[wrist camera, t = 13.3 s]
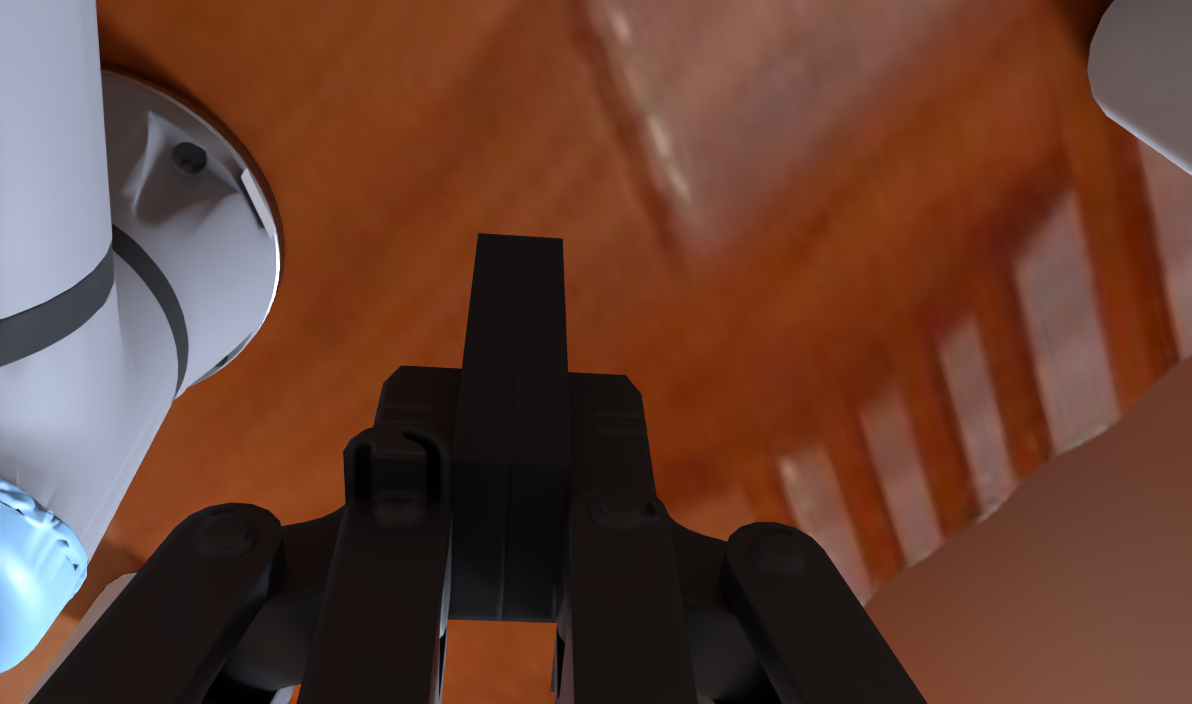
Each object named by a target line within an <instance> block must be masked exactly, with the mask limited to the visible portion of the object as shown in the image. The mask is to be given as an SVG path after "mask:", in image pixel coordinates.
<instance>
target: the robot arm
mask: <svg viewBox="0 0 1192 704" xmlns="http://www.w3.org/2000/svg"><path fill="white" fill-rule="evenodd" d="M284 256H285V255H284V235H283V227H282V222H281V218H280V214H279V210H278V207H277V204H276V201H275V198H274V195H273V193H272V191H271V189H270V186H269V184H268V182H267V180H266V178H265V176H264V174H263V173H262V171H261V169H260V168H259V166H258V164H257V163H256V161H255V160H254V158H253V157H252V156H251V154H250V153H249V151H248V150H247V149H246V147H245V146H244V145H243V144H242V143H241V141H240V140H239V139H238V138H237V137H236V135H235V134H234V133H233V132H232V131H231V130H230V129H229V128H228V127H227V126H226V125H225V124H224V123H223V122H222V121H220V120H219V119H218V118H217V117H216V116H215V115H213V114H212V113H211V112H210V111H209V110H208V109H206V108H205V107H203V106H202V105H201V104H199V103H198V102H197V101H195V100H194V99H192V98H191V97H189V96H188V95H186V94H184V93H183V92H181V91H179V90H178V89H176V88H174V87H172V86H170V85H168V84H166V83H164V82H162V81H160V80H158V79H156V78H154V77H151V76H149V75H146V74H144V73H141V72H139V71H136V70H133V69H129V68H126V67H123V66H120V65H115V64H111V63H106V62H101V61H100V56H99V41H98V27H97V13H96V0H0V673H2V672H4V671H6V670H9V669H11V668H12V667H14V666H15V665H17V664H18V663H19V662H20V661H22V660H23V659H24V658H25V657H26V656H27V655H28V654H29V653H30V652H31V651H32V650H33V649H34V648H35V647H36V645H37V644H38V643H39V642H40V640H41V639H42V637H43V636H44V634H45V633H46V631H47V630H48V628H49V627H50V625H51V624H52V623H53V621H54V620H55V619H56V617H57V616H58V615H59V613H60V612H61V610H62V609H63V608H64V606H65V605H66V604H67V602H68V601H69V600H70V599H71V598H73V596H74V594H75V593H77V592H78V590H79V589H80V587H81V585H82V584H83V582H84V580H85V578H86V577H87V565H88V564H89V562H90V560H91V558H92V556H93V554H94V552H95V550H96V548H97V546H98V544H99V542H100V541H101V539H102V537H103V535H104V533H105V531H106V529H107V527H108V525H109V523H110V521H111V519H112V518H113V516H114V514H115V512H116V510H117V508H118V506H119V504H120V502H121V500H122V498H123V496H124V494H125V493H126V491H127V489H128V487H129V485H130V483H131V481H132V479H133V477H134V475H135V473H136V471H137V470H138V468H139V466H140V464H141V462H142V460H143V458H144V456H145V454H146V452H147V450H148V448H149V447H150V445H151V443H152V441H153V439H154V437H155V435H156V433H157V431H158V429H159V427H160V425H161V424H162V422H163V420H164V418H165V416H166V414H167V412H168V410H169V408H170V406H171V404H172V402H173V400H175V399H176V398H177V397H179V396H180V395H181V394H182V393H183V392H184V391H185V389H186V388H187V387H189V386H192V385H194V384H196V383H198V382H200V381H202V380H204V379H206V378H208V377H209V376H211V375H213V374H214V373H216V372H217V371H219V370H220V369H222V368H223V367H224V366H226V365H227V364H228V363H229V362H231V361H232V360H233V359H234V358H235V357H236V356H237V355H238V354H239V353H240V352H241V351H242V350H243V349H244V348H245V346H246V345H247V344H248V343H249V342H250V340H251V339H252V338H253V337H254V335H255V334H256V333H257V331H258V330H259V328H260V327H261V325H262V324H263V322H264V320H265V318H266V316H267V314H268V312H269V310H270V308H271V306H272V303H273V301H274V299H275V297H276V294H277V291H278V288H279V285H280V282H281V277H282V273H283V266H284ZM343 456H344V478H345V500H346V504H345V505H344V506H342V507H341V508H340V509H338V510H337V511H335V512H333V513H331V514H329V515H326V516H324V517H322V518H318V519H315V520H311V521H307V522H302V523H297V524H292V525H286V526H281V524H280V521H279V520H278V519H277V518H276V517H275V516H274V515H273V514H272V513H271V512H270V511H269V510H266V509H264V508H261V507H258V506H256V505H253V504H244V503H226V504H220V505H215V506H209V507H207V508H205V509H202V510H200V511H198V512H196V513H193V514H191V515H189V516H188V517H187V518H186V519H185V520H183V521H182V522H181V523H180V524H179V525H177V526H176V527H175V528H174V529H173V531H172V532H171V533H170V534H169V535H168V536H167V538H166V539H165V540H164V541H163V542H162V544H161V545H160V546H159V547H158V548H157V550H156V551H155V552H154V553H153V554H152V556H151V557H150V558H149V559H148V560H147V562H146V563H145V564H144V565H143V566H142V568H141V569H140V570H139V571H138V572H137V574H136V575H135V576H134V577H133V578H132V580H131V581H130V582H129V583H128V584H127V586H126V587H125V588H124V589H123V590H122V592H121V593H120V594H119V595H118V596H117V598H116V599H115V600H114V601H113V602H112V604H111V605H110V606H109V607H108V608H107V610H106V611H105V612H104V613H103V614H102V616H101V617H100V618H99V619H98V620H97V622H96V623H95V624H94V625H93V626H92V628H91V629H90V630H89V631H88V632H87V634H86V635H85V636H84V637H83V638H82V640H81V641H80V642H79V643H78V644H77V646H76V647H75V648H74V649H73V650H72V652H71V653H70V654H69V655H68V656H67V657H66V659H65V660H64V661H63V662H62V663H61V665H60V666H59V667H58V668H57V669H56V671H55V672H54V673H53V674H52V675H51V677H50V678H49V679H48V680H47V681H46V683H45V684H44V685H43V686H42V687H41V689H40V690H39V691H38V692H37V693H36V695H35V696H34V697H33V698H32V699H31V701H30V702H29V703H28V704H288V702H289V700H290V698H291V696H292V693H293V689H294V686H295V685H298V684H301V688H300V692H299V696H298V700H297V704H441V700H442V689H443V679H444V669H445V659H446V644H447V619H454V620H485V621H517V622H548V623H556V618H557V630H556V640H555V650H554V660H553V670H552V679H551V689H550V692H555V704H698V703H699V704H927V702H926V701H925V699H924V698H923V696H922V695H921V693H920V692H919V690H918V689H917V687H916V686H915V684H914V683H913V681H912V680H911V678H910V677H909V675H908V674H907V672H906V671H905V669H904V668H903V667H902V665H901V664H900V662H899V661H898V659H897V658H896V656H895V655H894V653H893V652H892V650H891V649H890V647H889V646H888V644H887V643H886V641H885V640H884V638H883V637H882V635H881V634H880V632H879V631H878V629H877V628H876V626H875V625H874V623H873V622H872V620H871V619H870V617H869V616H868V614H867V613H866V611H865V610H864V608H863V607H862V605H861V604H860V602H859V601H858V599H857V598H856V596H855V595H854V594H853V592H852V591H851V589H850V588H849V586H848V585H847V583H846V582H845V580H844V579H843V577H842V576H841V574H840V573H839V571H838V570H837V568H836V567H835V565H834V564H833V562H832V561H831V559H830V558H829V556H828V555H827V553H826V552H825V550H824V549H823V548H822V547H821V546H820V545H819V544H818V543H817V542H816V541H815V540H814V539H813V538H812V537H810V536H809V535H807V534H805V533H803V532H802V531H800V530H798V529H796V528H794V527H790V526H787V525H783V524H779V523H776V522H755V523H752V524H749V525H745V526H742V527H740V528H739V529H737V530H736V531H735V532H734V533H733V534H732V535H730V536H729V540H728V542H726V541H723V540H719V539H716V538H712V537H708V536H705V535H702V534H699V533H696V532H694V531H691V530H688V529H687V528H685V527H683V526H681V525H680V524H678V523H676V522H675V521H674V520H673V519H672V518H671V517H669V515H668V513H667V510H666V508H665V506H664V504H663V502H661V501H660V500H659V499H658V498H657V495H656V490H655V483H654V476H653V470H652V463H651V456H650V449H649V443H648V436H647V429H646V422H645V419H644V409H643V402H642V395H641V393H640V392H639V391H638V390H637V388H636V387H635V386H634V385H633V384H632V382H631V381H630V380H629V379H628V377H627V376H626V375H611V374H592V373H573V372H568V360H567V336H566V311H565V286H564V262H563V239H560V238H545V237H529V236H514V235H498V234H483V233H478V240H477V248H476V257H475V265H474V273H473V281H472V290H471V298H470V306H469V314H468V322H467V331H466V339H465V347H464V355H463V363H462V369H457V368H438V367H419V366H400V367H399V368H398V369H397V370H396V371H395V372H394V373H393V374H392V375H391V376H390V377H389V378H388V379H387V380H386V381H385V382H384V383H383V387H382V391H381V396H380V400H379V405H378V408H377V412H376V417H375V423H374V425H373V427H372V428H369V429H366V430H364V431H362V432H361V433H359V434H358V435H356V436H355V437H354V438H352V439H351V440H350V441H349V443H348V445H347V446H346V448H345V450H344V451H343Z"/></svg>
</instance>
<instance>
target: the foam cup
mask: <svg viewBox="0 0 1192 704" xmlns="http://www.w3.org/2000/svg"><path fill="white" fill-rule="evenodd" d="M136 574H137V573H130V574H124V575H122V576H121V577H119V578H118V579H116V580H114V581H113V582H111V583H110V584H108V585H107V586H106V587H105V589H104V591H103V592H102V593H100V595H99V596H98V597H97V599H96V600H95V601H94V603H93V604H92V606H91V607H90V608H89V610H88V611H87V612H86V614H85V615H84V617H83V618H82V619H81V621H80V622H79V623H78V625H77V626H76V628H75V629H74V630H73V632H72V633H71V635H70V636H69V637H68V639H67V640H66V641H65V643H64V644H63V646H62V647H61V648H60V650H59V651H58V652H57V654H56V655H55V657H54V658H53V659H52V661H51V662H50V664H49V665H48V666H47V668H46V669H45V670H44V672H43V673H42V675H41V676H40V677H39V679H38V680H37V681H36V683H35V684H34V686H33V687H32V688H31V690H30V691H29V692H28V694H27V695H26V697H25V698H24V699H23V701H22V702H21V704H28V703H29V702H30V701H31V699H32V698H33V697H34V696H35V695H36V693H37V692H38V691H39V690H40V689H41V687H42V686H43V685H44V684H45V683H46V681H47V680H48V679H49V678H50V677H51V675H52V674H53V673H54V672H55V671H56V669H57V668H58V667H59V666H60V665H61V663H62V662H63V661H64V660H65V659H66V657H67V656H68V655H69V654H70V653H71V652H72V650H73V649H74V648H75V647H76V646H77V644H78V643H79V642H80V641H81V640H82V638H83V637H84V636H85V635H86V634H87V632H88V631H89V630H90V629H91V628H92V626H93V625H94V624H95V623H96V622H97V620H98V619H99V618H100V617H101V616H102V614H103V613H104V612H105V611H106V610H107V608H108V607H109V606H110V605H111V604H112V602H113V601H114V600H115V599H116V598H117V596H118V595H119V594H120V593H121V592H122V590H123V589H124V588H125V587H126V586H127V584H128V583H129V582H130V581H131V580H132V578H133V577H134V576H135V575H136Z"/></svg>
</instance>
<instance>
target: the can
mask: <svg viewBox="0 0 1192 704" xmlns="http://www.w3.org/2000/svg"><path fill="white" fill-rule="evenodd" d="M1087 73H1088V78H1089V82H1090V86H1091V91H1092V95H1093V97H1094V99H1095V100H1096V102H1097V103H1098V104H1099V106H1100V107H1101V109H1102V110H1103V111H1104V113H1105V114H1106V115H1107V116H1108V117H1109V118H1111V119H1112V120H1114V121H1115V122H1116V123H1118V124H1119V125H1121V126H1122V127H1124V128H1125V129H1126V130H1128V131H1129V132H1131V133H1132V134H1134V135H1135V136H1136V137H1138V138H1139V139H1141V140H1142V141H1143V142H1145V143H1146V144H1148V145H1149V146H1151V147H1152V148H1153V149H1155V150H1156V151H1158V152H1159V153H1161V154H1162V155H1163V156H1165V157H1166V158H1168V159H1169V160H1170V161H1172V162H1173V163H1175V164H1176V165H1178V166H1179V167H1180V168H1182V169H1183V170H1185V171H1186V172H1188V173H1189V174H1190V175H1192V0H1114V1H1113V2H1112V4H1111V5H1110V6H1109V8H1108V9H1107V10H1106V12H1105V13H1104V14H1103V16H1102V18H1101V20H1100V23H1099V25H1098V27H1097V30H1096V32H1095V34H1094V37H1093V39H1092V42H1091V44H1090V52H1089V61H1088V69H1087Z"/></svg>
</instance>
